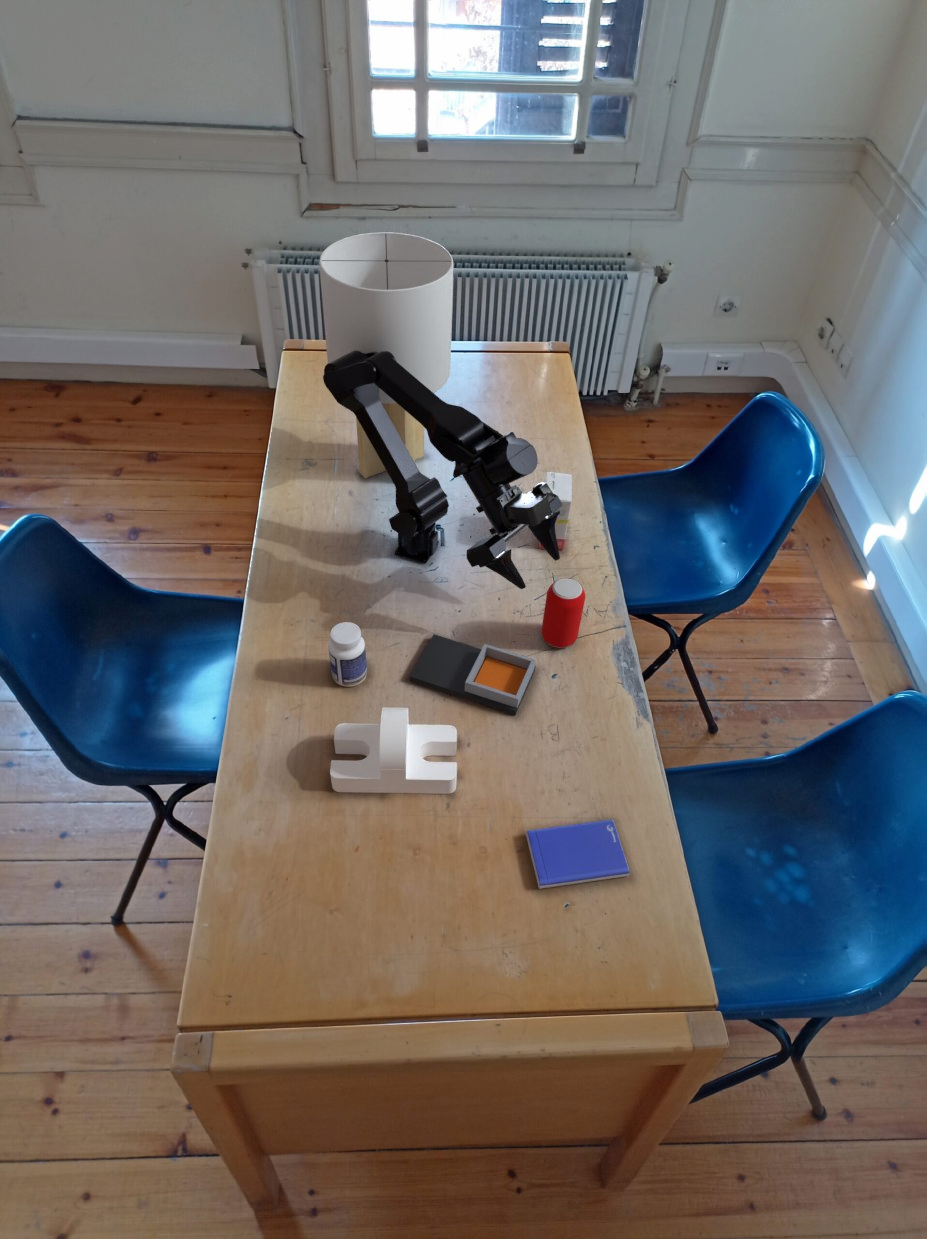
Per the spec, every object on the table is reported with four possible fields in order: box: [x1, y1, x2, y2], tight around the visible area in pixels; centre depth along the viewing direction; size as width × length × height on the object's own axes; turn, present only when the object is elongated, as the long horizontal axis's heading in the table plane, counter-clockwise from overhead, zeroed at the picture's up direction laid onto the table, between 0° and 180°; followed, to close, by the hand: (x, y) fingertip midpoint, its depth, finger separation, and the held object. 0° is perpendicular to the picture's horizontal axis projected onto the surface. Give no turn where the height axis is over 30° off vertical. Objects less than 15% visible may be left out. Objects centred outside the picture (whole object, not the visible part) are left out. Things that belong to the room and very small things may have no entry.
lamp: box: [318, 231, 454, 479], centre depth 162 cm, size 23×23×43 cm
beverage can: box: [540, 577, 586, 649], centre depth 141 cm, size 6×6×12 cm
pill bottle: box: [328, 621, 368, 688], centre depth 135 cm, size 6×6×10 cm
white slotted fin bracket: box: [329, 706, 458, 795], centre depth 123 cm, size 10×18×11 cm, turn 90°
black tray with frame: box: [409, 633, 536, 716], centre depth 138 cm, size 18×10×3 cm, turn 69°
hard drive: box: [525, 818, 631, 890], centre depth 117 cm, size 2×8×12 cm
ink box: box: [538, 471, 573, 551], centre depth 160 cm, size 9×5×12 cm, turn 175°
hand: (540, 573), depth 140 cm, fingers open, 9 cm apart
